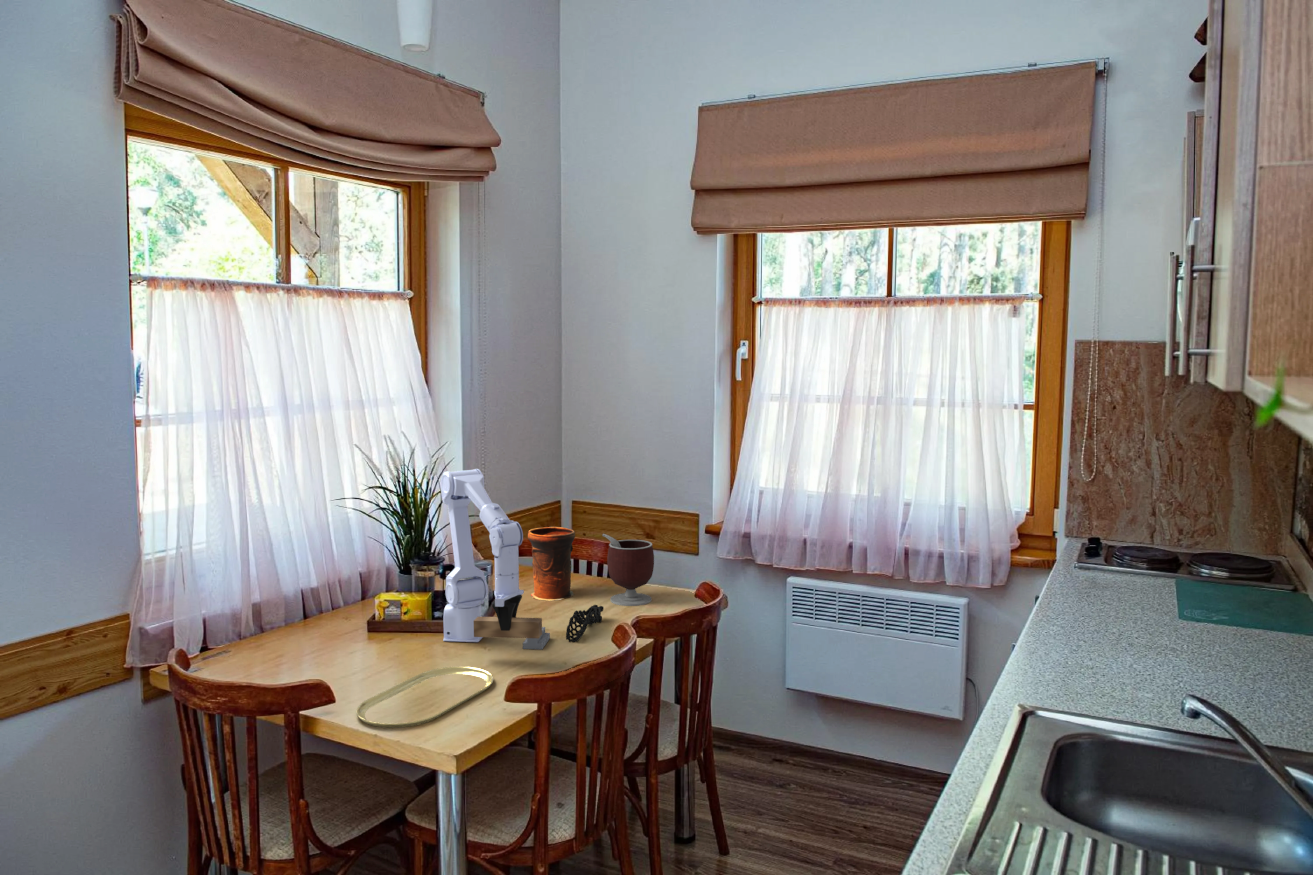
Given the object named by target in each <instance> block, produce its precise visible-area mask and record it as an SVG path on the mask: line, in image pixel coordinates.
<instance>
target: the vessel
mask: <svg viewBox="0 0 1313 875" xmlns="http://www.w3.org/2000/svg"><path fill="white" fill-rule="evenodd" d="M575 538H576V532H575V530H573V529H570V528H567V527H560V526H549V527H537V528H535V527H534V528H531V529H530V530H528V532H527V539H528V540H529V542H530V543H531V548H532V549H531V554H532V556H531V557H532V563H531V565H532V575H533V576H532V578H533V592H532V593H530V596H531V598H532V599H536V600H539V601H547V602H548V601H549V602H552V601H559V600H564V599H567V598H571V597H573V596H574V595H575V593H574V591H572V590H571V587H572V586H571V585H572V582H571V577H572V558H571V557H572V556H571V554H572V552H573V549H574V547H573V542H574V540H575Z"/></svg>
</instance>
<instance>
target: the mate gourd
mask: <svg viewBox="0 0 1313 875" xmlns="http://www.w3.org/2000/svg"><path fill="white" fill-rule="evenodd" d="M602 537H604V538H606V539H607V540H608V541H609V542H610V543H609V544H608V549H607V557H606V560H607V562H606V563H607V570H608V575H609V578H610V579H611V581H613V583H614V584H615V585H617V586H619V587H622V588H624V589H626V590H625V592H623V593H618V594H614V595H612V596H610V603H612V604H614V605H617V606H622V607H623V606H624V607H637V606H644V605H648V604H650V603H651V602H652V597H651V595H648V594H645V593H641V592H640V593H639V592H637V590H636V589H637V588H640V587H642V586H645V585H647V584H648V583H649V581H650V579H651V578H652V577H653V573H654V567H655V555H654V554H655V553H654V547H653V543H652V542H651V541H648V540H644V539H621V540H617V539H616V538H614V537H612V536H610V535H608V534H606V533H602Z"/></svg>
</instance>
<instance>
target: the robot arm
mask: <svg viewBox="0 0 1313 875" xmlns="http://www.w3.org/2000/svg"><path fill="white" fill-rule="evenodd" d="M439 482H440V492H441V493H440V494H441V499H442V503H443V504H445V505H447V510H448V520H449V527H450V535H451V542H452V543H451V544H452V551H453V552H452V554H453V560H454V568H453V569H452V570H451V572H450V573H449V574H448V575H447V576H446V577H445V593H444V594H445V598H446V601H447V604H446V605H445V607H444V609H443V615H442V616H443V618H442V619H443V621H442V622H443V639H442V640H443V642H463V643H465V642H466V643H479V642H480V641H481V640H482V639H483V638H484V637H474V620H475V619H476V618H477V617H482V605H483V604H484V603H485V602H484V601H485V600H486V599H487V597H488V595H489V585H488V582H487V581H486V576H485V572H484V570H481V569H480V568H478V567H477V566H476V565H475V558H474V550H473V549H474V548H473V542H472V533H471V525H470V517H469V509H468V506H469V505H470V503H471V502H472V503H473V504H474V506H475V507H476V508H477V509H478V510H479V511H480V512H479V514H478V516H479V520H480V521H481V523H482V524H483V526H484V527H485V528H486V529H487V531H488V533H489V535H488V536H489V541H490V546H491V552H492V555H493V556H494V591H493V594H494V598H495V599H494V600H493V601H492V602H491V607H492V609H493V611H494V612H495V614H496V617H498V621H499V625H500V629H501V631H509V630H510V628H511V621H512V617H517V613H518V608H519V605H520V603H521V600H522V598H523V595H524V594H525V589H521V588H520V578H519V577H520V570H519V569H520V567H519V547H520V546H521V545H522V544H523V541H524V533H523V529H522V526H521V524H520V523H519V522H518V521H514V519H513V520H511V519H510V518H509V517H508V515H507V514H506V512H505V511H504V509H503V508H502V507H501V506H500V504H498V503H497V502H493V501H492V500H491V497H490V496H489V494H488V492H487V490H486V489H485V476H484V474H483V472H482V471H481V469H479V468H474V469H466V470H465V469H464V470H453V471H448V470H447V471H444V472H443V474H442V475H441V479H440V481H439Z"/></svg>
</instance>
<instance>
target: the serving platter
mask: <svg viewBox="0 0 1313 875" xmlns="http://www.w3.org/2000/svg"><path fill="white" fill-rule="evenodd" d="M448 675H467V676H468V675H469V676H474V677H477V678H480V679H482V680H483V681H484V682H485V686H484V687H483V688H481V689H479V690H478V691H476V692H474V693H472V694H470V695H469V696H467V697H465V698H463V699H462V700H460V701H458V702H456V703H455V704H453V705H451V706H449V707H447V708H445V709H444V710H442V711H440V712H439V713H436V714H434V715H432V716H429V717H426V718H423V719H419V720H415V721H408V722H400V723H399V722H398V723H382V722H375V721H370V720H367V718H366V717H365V715H366V713H367V712H368V710H370V709H371V708H373V707H374V706H376V705H379V704H380V703H382V702H384V701H386V700H389V699H390V698H392V697H394V696H397V695H399V694H400V693H402V692H404V691H407V690H409V689H410V688H412V687H414V686H416V685H418V684H421V683H422V682H425V681H427V680H429V679H432V678H436V677H441V676H448ZM493 683H494V677H493V674H492V673H490V672H489V671H487V670H485V669H482V668H478V667H471V666H449V667H446V666H445V667H441V668H433V669H431V670H427V671H424V672H422V673H419V674H417V675H414V676H413V677H410V678H409V679H407V680H405V681H403V682H400V683H398V684H396V685H394V686H392V687H390V688H388V689H386V690H385V691H382V692H380V693H378V694H376V695H374V696H372V697H369V698H367V699H366V700H364V701H362V702H361V703H360V704H359V705H358V706H357V708H356V716H357V717H358V718H359V720H361V722H363V723H365V724H367V725H369V726H372V727H378V728H386V729H391V728H392V729H396V728H397V729H398V728H408V727H415V726H418V725H422V724H426V723H429V722H431V721H433V720H436V719H437V718H438V717H441V716H443V715H445V714H446V713H449V711H451V710H453V709H455V708H457V707H458V706H460V705H462V704H464V703H465V702H468V701H469V700H470V699H472V698H474V697H476V696H478V695H480V694H481V693H483V692H485V691H486V690H488V688H490V687H491V685H492V684H493Z"/></svg>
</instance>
